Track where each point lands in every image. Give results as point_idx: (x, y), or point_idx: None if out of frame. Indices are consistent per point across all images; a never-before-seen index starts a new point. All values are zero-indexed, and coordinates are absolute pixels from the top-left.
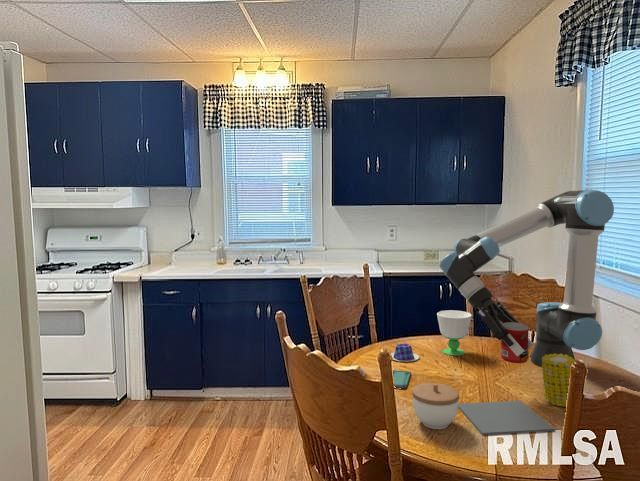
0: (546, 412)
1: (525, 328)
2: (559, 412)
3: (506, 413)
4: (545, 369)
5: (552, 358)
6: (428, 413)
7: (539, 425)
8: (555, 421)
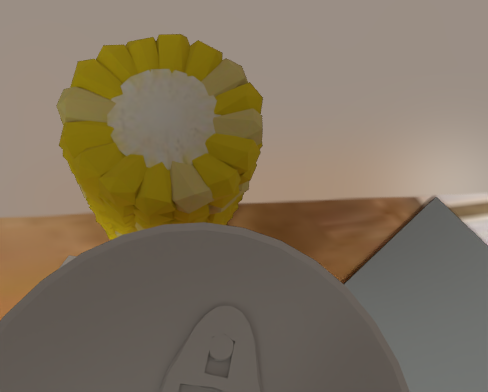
0: (303, 242)
1: (290, 246)
2: (274, 202)
3: (440, 372)
4: (231, 202)
5: (144, 151)
6: None
7: (449, 241)
8: (359, 206)
